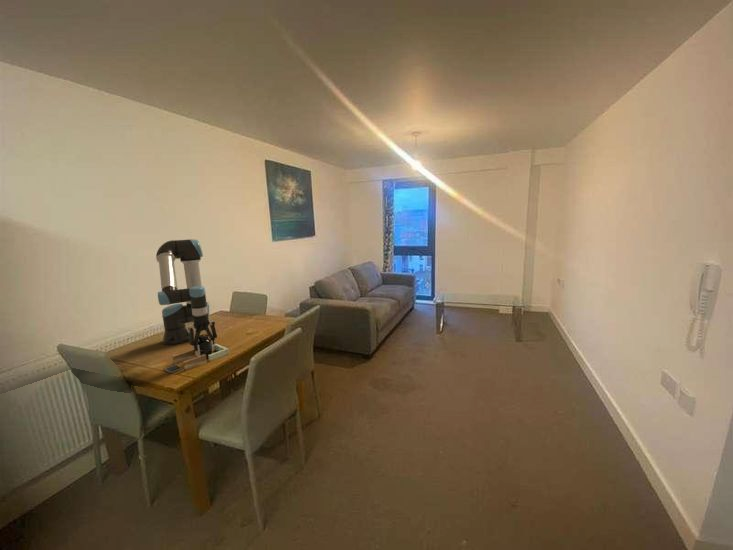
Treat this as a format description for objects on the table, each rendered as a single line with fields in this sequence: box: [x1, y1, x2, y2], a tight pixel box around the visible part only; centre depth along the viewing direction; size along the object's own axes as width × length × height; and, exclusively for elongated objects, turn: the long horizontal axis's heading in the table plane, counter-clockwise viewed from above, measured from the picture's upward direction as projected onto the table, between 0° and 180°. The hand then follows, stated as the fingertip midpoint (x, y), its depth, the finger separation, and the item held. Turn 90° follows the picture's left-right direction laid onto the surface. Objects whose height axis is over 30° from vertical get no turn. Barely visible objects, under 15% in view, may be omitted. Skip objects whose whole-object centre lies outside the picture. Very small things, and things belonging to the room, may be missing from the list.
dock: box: [207, 343, 230, 362], centre depth 176 cm, size 14×11×3 cm
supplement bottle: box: [198, 333, 213, 359], centre depth 172 cm, size 7×7×12 cm
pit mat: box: [163, 364, 184, 375], centre depth 160 cm, size 8×6×1 cm
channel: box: [172, 348, 208, 371], centre depth 166 cm, size 14×11×4 cm
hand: (205, 353), depth 173 cm, fingers closed on supplement bottle, 7 cm apart
